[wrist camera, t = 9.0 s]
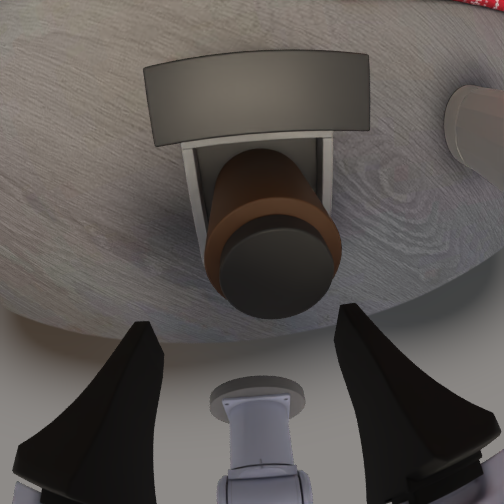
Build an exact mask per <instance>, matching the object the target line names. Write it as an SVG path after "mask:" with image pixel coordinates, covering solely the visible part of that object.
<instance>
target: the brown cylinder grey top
mask: <svg viewBox="0 0 504 504" xmlns="http://www.w3.org/2000/svg"><path fill="white" fill-rule="evenodd" d="M341 255H342V245H341V239H340V235H339V232H338V230H337V228H336V226H335V224H334V222H333V221H332V219H331V218H330V216H329V214H328V213H327V211H326V209H325V208H324V206H323V205H322V203H321V202H320V200H319V198H318V197H317V195H316V194H315V192H314V191H313V189H312V188H311V186H310V185H309V183H308V181H307V180H306V178H305V177H304V175H303V174H302V172H301V171H300V169H299V168H298V167H297V165H296V164H295V163H294V162H293V161H292V160H291V159H290V158H288V157H287V156H286V155H284V154H282V153H280V152H277V151H274V150H270V149H252V150H248V151H244V152H242V153H240V154H238V155H236V156H234V157H233V158H232V159H230V160H229V161H228V162H227V163H226V164H225V165H224V167H223V168H222V169H221V171H220V173H219V175H218V177H217V180H216V184H215V189H214V195H213V201H212V207H211V213H210V219H209V225H208V231H207V238H206V244H205V251H204V265H205V270H206V273H207V276H208V278H209V280H210V282H211V284H212V285H213V287H214V288H215V289H216V291H217V292H218V293H219V294H220V295H221V296H223V297H224V298H225V299H226V300H228V301H229V302H230V304H231V305H232V306H234V307H235V308H236V309H238V310H239V311H241V312H243V313H245V314H247V315H249V316H252V317H256V318H261V319H282V318H287V317H291V316H294V315H297V314H300V313H302V312H304V311H306V310H308V309H309V308H311V307H312V306H314V305H315V304H316V303H317V302H318V301H320V300H321V298H322V297H323V296H324V295H325V294H326V292H327V291H328V289H329V287H330V285H331V282H332V279H333V278H334V276H335V274H336V272H337V270H338V267H339V264H340V260H341Z"/></svg>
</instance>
